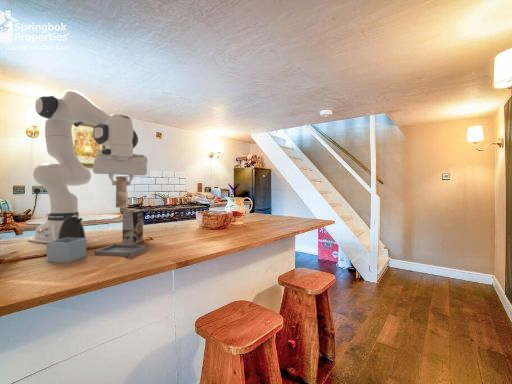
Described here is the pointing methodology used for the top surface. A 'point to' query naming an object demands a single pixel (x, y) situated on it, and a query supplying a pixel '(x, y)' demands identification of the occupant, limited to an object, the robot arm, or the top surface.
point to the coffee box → (132, 227)
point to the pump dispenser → (71, 228)
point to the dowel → (121, 192)
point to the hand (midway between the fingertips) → (121, 185)
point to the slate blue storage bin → (66, 249)
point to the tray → (121, 250)
